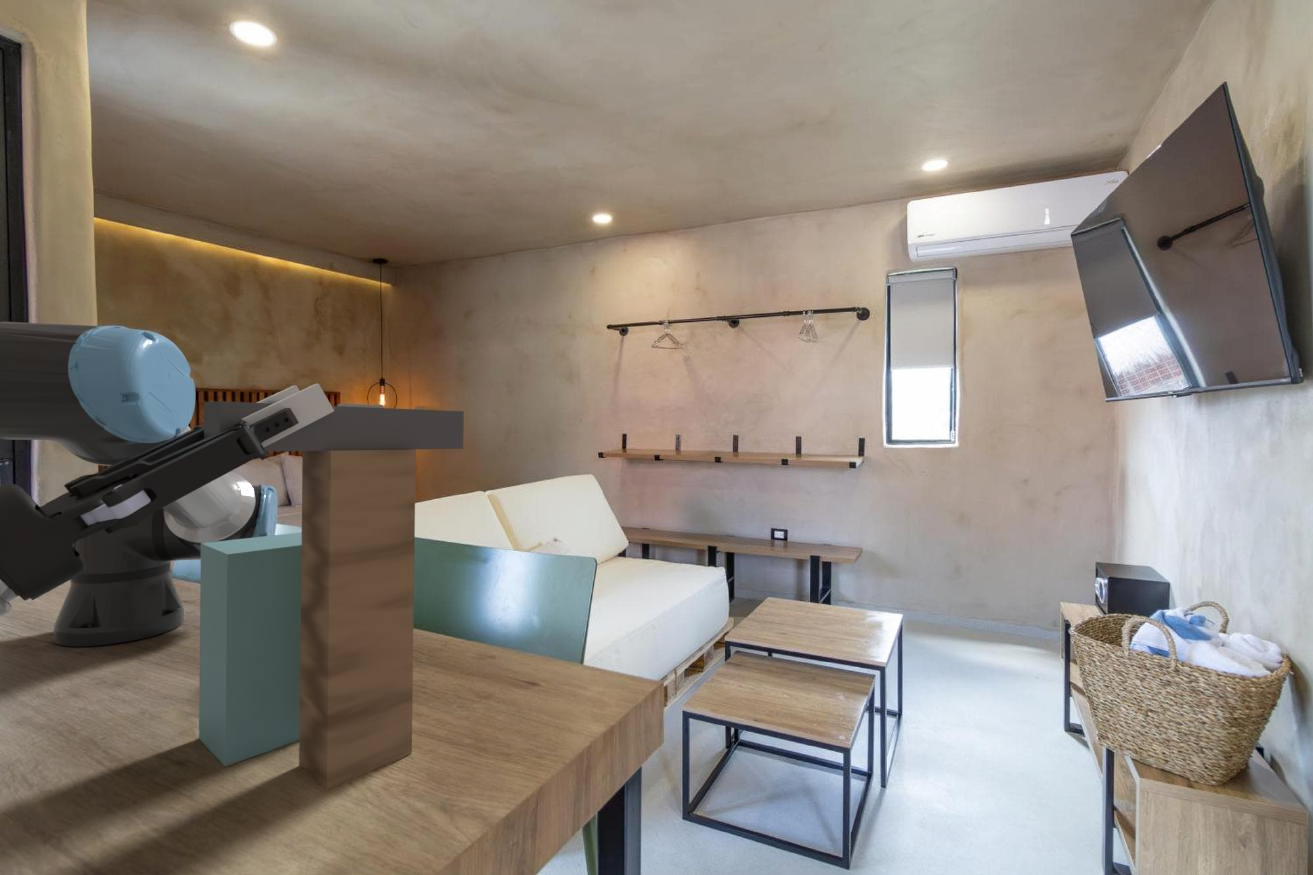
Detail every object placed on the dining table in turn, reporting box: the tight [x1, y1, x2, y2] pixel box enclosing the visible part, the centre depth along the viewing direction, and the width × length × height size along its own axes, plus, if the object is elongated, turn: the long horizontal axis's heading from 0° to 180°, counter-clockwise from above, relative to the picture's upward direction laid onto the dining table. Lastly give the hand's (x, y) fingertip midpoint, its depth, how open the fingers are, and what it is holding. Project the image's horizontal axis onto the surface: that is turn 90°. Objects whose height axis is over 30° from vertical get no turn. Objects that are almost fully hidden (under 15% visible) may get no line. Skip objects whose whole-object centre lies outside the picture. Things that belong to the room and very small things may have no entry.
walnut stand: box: [298, 449, 417, 790], centre depth 59 cm, size 6×8×30 cm
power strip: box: [203, 400, 465, 452], centre depth 58 cm, size 4×22×4 cm, turn 141°
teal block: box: [198, 531, 302, 767], centre depth 64 cm, size 8×10×20 cm
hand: (312, 398), depth 55 cm, fingers closed on power strip, 4 cm apart
